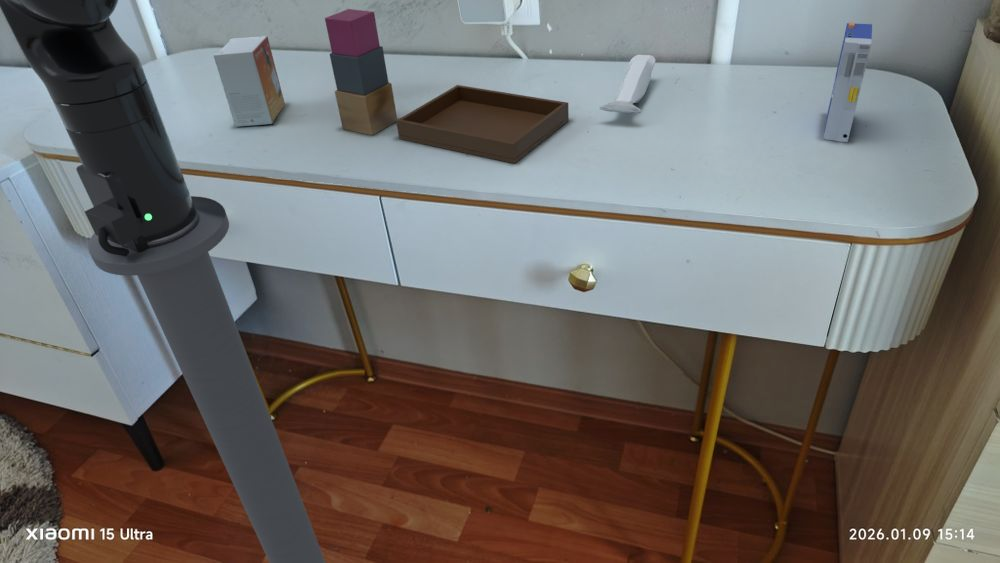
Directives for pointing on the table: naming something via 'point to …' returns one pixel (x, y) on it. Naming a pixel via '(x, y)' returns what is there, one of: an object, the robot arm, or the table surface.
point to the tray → (484, 122)
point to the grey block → (360, 72)
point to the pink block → (352, 32)
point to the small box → (250, 80)
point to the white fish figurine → (633, 85)
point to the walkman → (848, 81)
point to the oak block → (367, 110)
